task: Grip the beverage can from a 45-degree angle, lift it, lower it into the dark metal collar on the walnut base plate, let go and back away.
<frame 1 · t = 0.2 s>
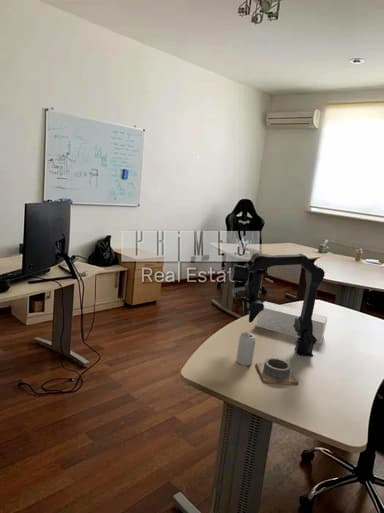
hand: (247, 318, 164), 14 cm above the table, tool pointing down, fingers open, 9 cm apart
can holder: (275, 374, 148), on the table
white foam block: (289, 331, 193), on the table
beverage can: (243, 363, 154), on the table
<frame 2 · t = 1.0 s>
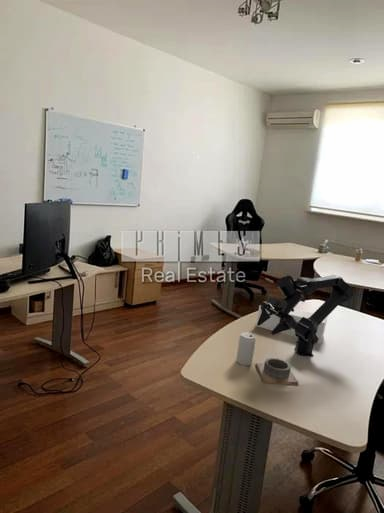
hand: (264, 329, 156), 13 cm above the table, tool tilted 45°, fingers open, 9 cm apart
nothing on the table moved.
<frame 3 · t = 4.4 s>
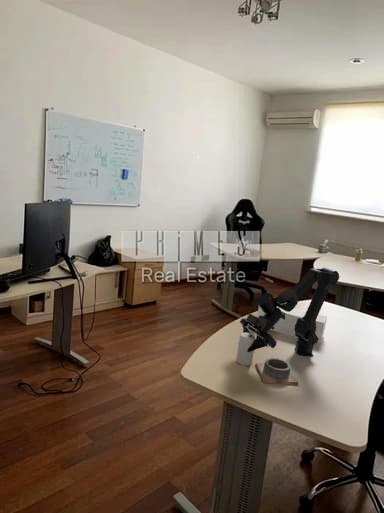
hand: (243, 347, 152), 7 cm above the table, tool tilted 45°, fingers closed on beverage can, 6 cm apart
beverage can: (243, 363, 154), on the table, touching gripper
everything else where it was.
when the fingers open (9 cm above the table, at t = 9.4 s): beverage can drops 1 cm, resting on can holder.
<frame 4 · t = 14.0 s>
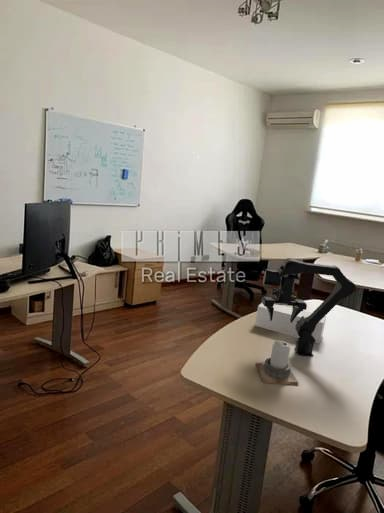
hand: (280, 321, 168), 13 cm above the table, tool pointing down, fingers open, 9 cm apart
beverage can: (276, 372, 148), point 1 cm above the table, touching can holder
everything else where it was.
at the end: beverage can 0.3 cm off-centre on the can holder, point 0.8 cm above the can holder's base; beverage can tilted 0°; the gripper is holding nothing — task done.
